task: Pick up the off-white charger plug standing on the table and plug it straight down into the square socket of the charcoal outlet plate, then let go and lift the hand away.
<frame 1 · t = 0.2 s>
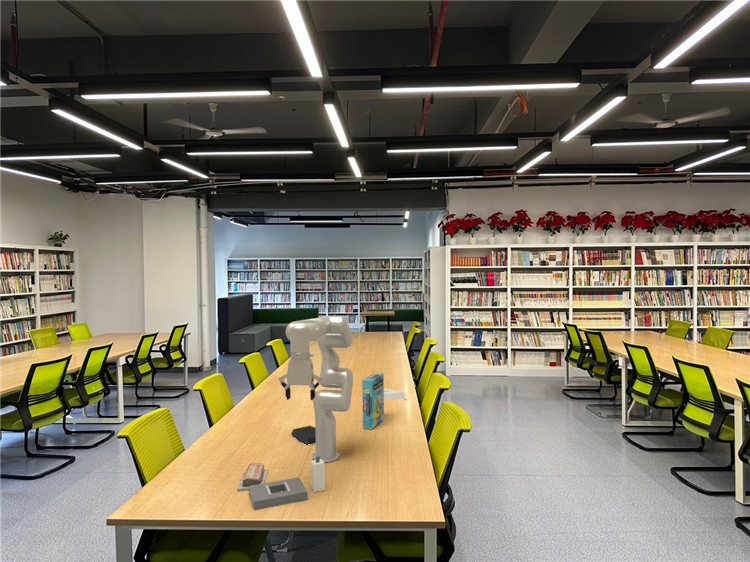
hand: (300, 399, 190), 36 cm above the table, tool pointing down, fingers open, 9 cm apart
black angular slab: (308, 439, 250), on the table
packaged product: (253, 482, 199), on the table
charger plug: (318, 489, 191), on the table
outlet plate: (277, 496, 185), on the table
triangle block: (375, 401, 321), on the table
game box: (373, 424, 272), on the table
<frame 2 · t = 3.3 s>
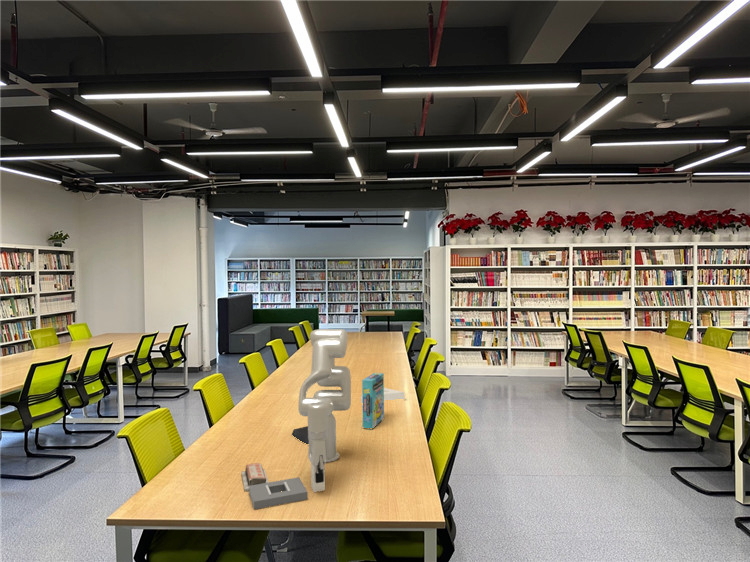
hand: (317, 479, 191), 4 cm above the table, tool pointing down, fingers closed on charger plug, 4 cm apart
charger plug: (318, 489, 191), on the table, touching gripper
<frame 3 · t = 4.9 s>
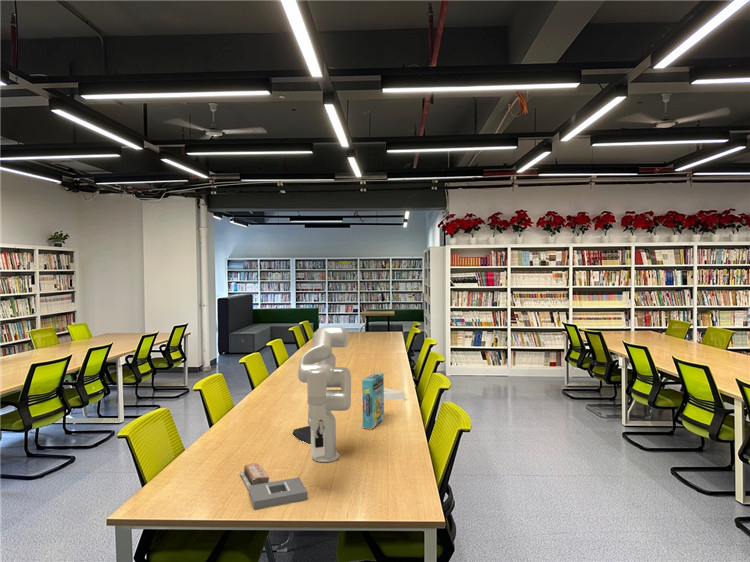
hand: (317, 444, 191), 18 cm above the table, tool pointing down, fingers closed on charger plug, 4 cm apart
charger plug: (317, 454, 191), point 14 cm above the table, touching gripper
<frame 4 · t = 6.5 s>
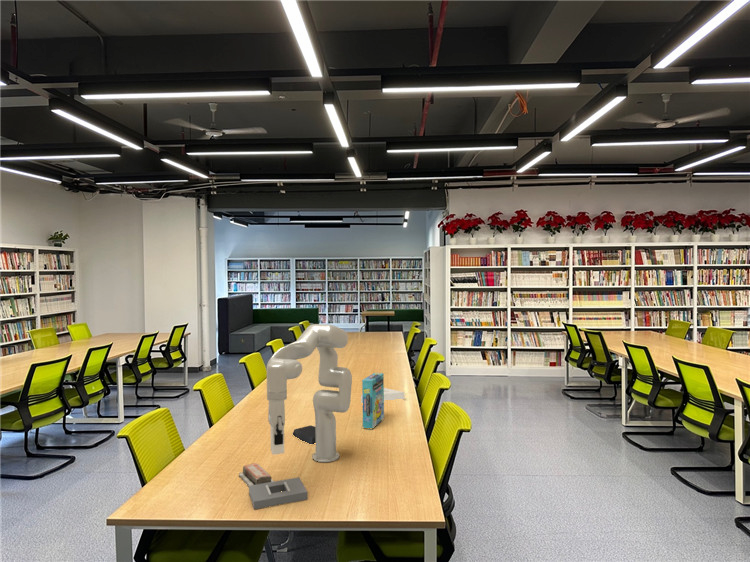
hand: (277, 441, 184), 21 cm above the table, tool pointing down, fingers closed on charger plug, 4 cm apart
charger plug: (277, 451, 184), point 17 cm above the table, touching gripper
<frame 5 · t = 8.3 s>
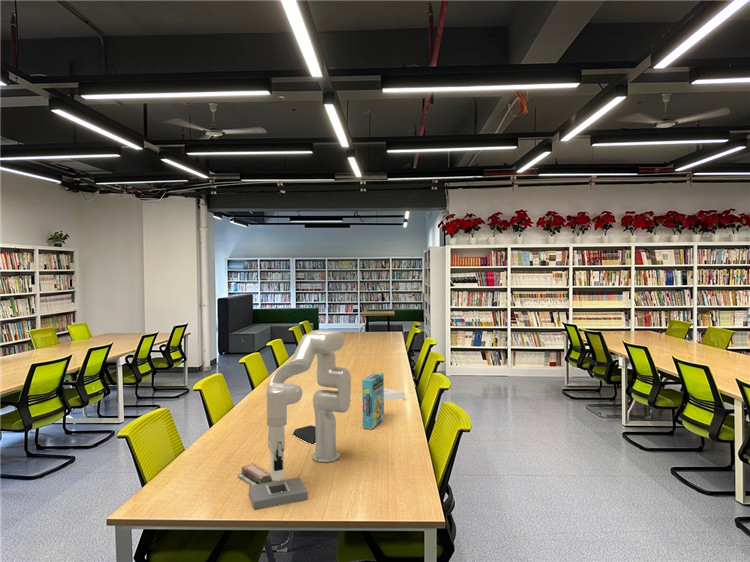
hand: (277, 467, 184), 11 cm above the table, tool pointing down, fingers closed on charger plug, 4 cm apart
charger plug: (277, 477, 184), point 8 cm above the table, touching gripper
when the fingers open (5 cm above the table, at t = 9.8 s): charger plug drops 1 cm, resting in outlet plate.
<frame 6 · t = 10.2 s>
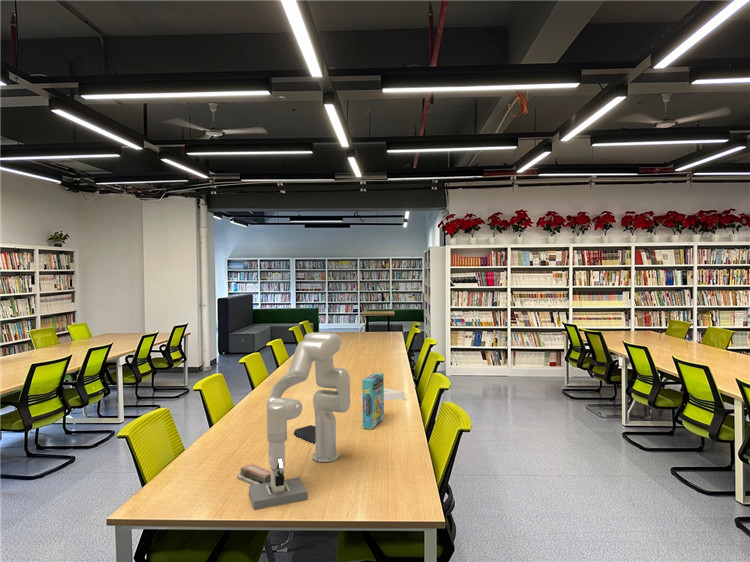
hand: (277, 480, 185), 6 cm above the table, tool pointing down, fingers open, 8 cm apart
charger plug: (277, 496, 185), resting in outlet plate
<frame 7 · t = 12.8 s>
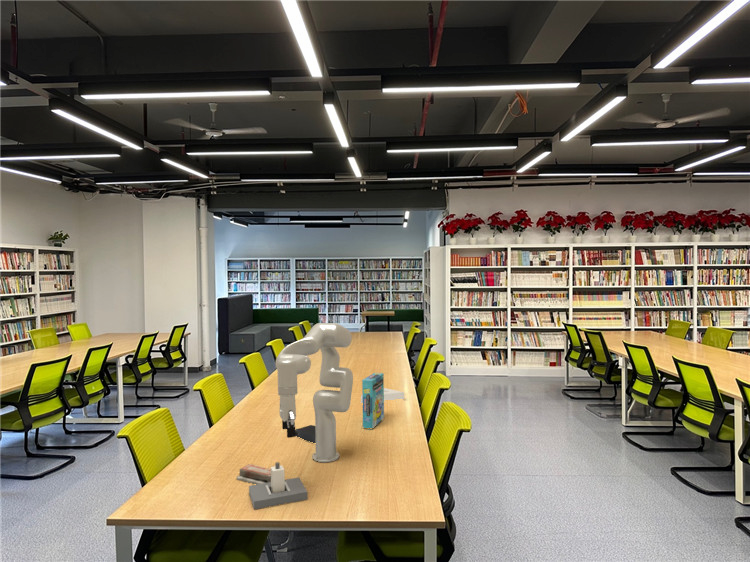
hand: (288, 432, 188), 23 cm above the table, tool pointing down, fingers open, 9 cm apart
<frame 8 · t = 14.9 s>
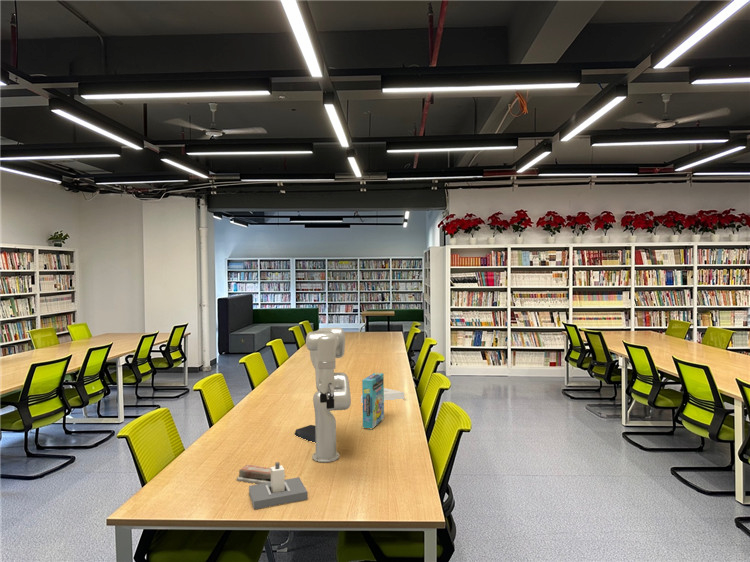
hand: (327, 405, 202), 30 cm above the table, tool pointing down, fingers open, 9 cm apart
at the end: charger plug 0.1 cm off-centre on the outlet plate, point 0.0 cm above the outlet plate's base; charger plug tilted 0°; the gripper is holding nothing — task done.
